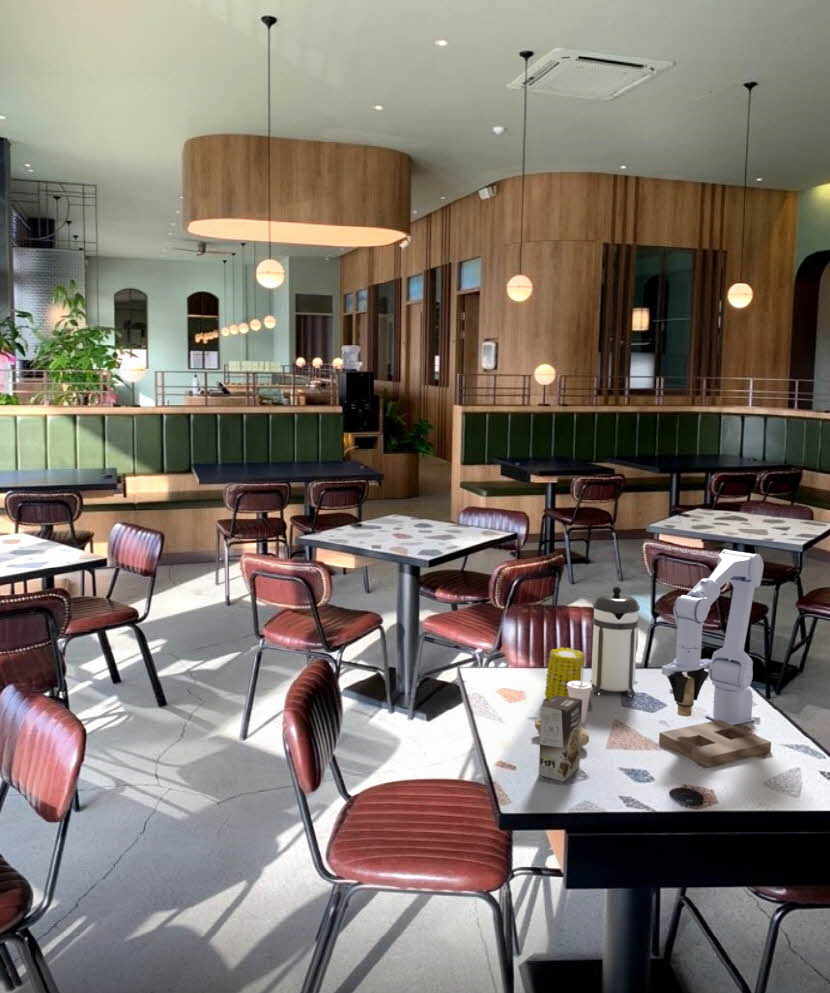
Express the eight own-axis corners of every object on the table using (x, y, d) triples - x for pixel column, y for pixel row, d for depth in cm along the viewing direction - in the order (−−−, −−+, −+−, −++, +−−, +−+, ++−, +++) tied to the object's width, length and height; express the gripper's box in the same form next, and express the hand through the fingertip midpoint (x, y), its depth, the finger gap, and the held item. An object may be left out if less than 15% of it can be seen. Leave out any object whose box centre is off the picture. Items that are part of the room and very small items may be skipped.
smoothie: (590, 726, 230) (592, 672, 229) (564, 724, 232) (566, 670, 230) (590, 717, 237) (592, 665, 235) (565, 715, 238) (567, 663, 236)
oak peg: (685, 710, 223) (686, 674, 222) (696, 715, 220) (698, 679, 219) (672, 712, 222) (673, 676, 221) (683, 717, 218) (685, 681, 217)
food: (561, 697, 256) (585, 710, 248) (530, 695, 250) (554, 708, 241) (574, 645, 255) (599, 656, 247) (543, 641, 249) (568, 652, 241)
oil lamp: (536, 731, 227) (537, 712, 226) (594, 740, 222) (594, 720, 221) (525, 747, 217) (526, 726, 216) (586, 756, 212) (586, 736, 211)
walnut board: (719, 729, 230) (719, 719, 230) (770, 752, 216) (771, 742, 216) (659, 742, 221) (659, 732, 220) (708, 767, 207) (709, 756, 206)
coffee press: (653, 692, 257) (658, 588, 253) (613, 703, 248) (618, 595, 244) (608, 675, 271) (612, 576, 267) (568, 685, 262) (572, 582, 258)
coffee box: (564, 782, 198) (567, 710, 196) (537, 775, 201) (540, 704, 199) (580, 767, 205) (583, 698, 203) (554, 761, 209) (556, 693, 207)
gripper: (699, 638, 225) (696, 691, 227) (654, 644, 219) (651, 699, 220) (720, 645, 219) (717, 700, 221) (674, 652, 212) (671, 708, 214)
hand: (685, 700), depth 220 cm, fingers closed on oak peg, 4 cm apart
